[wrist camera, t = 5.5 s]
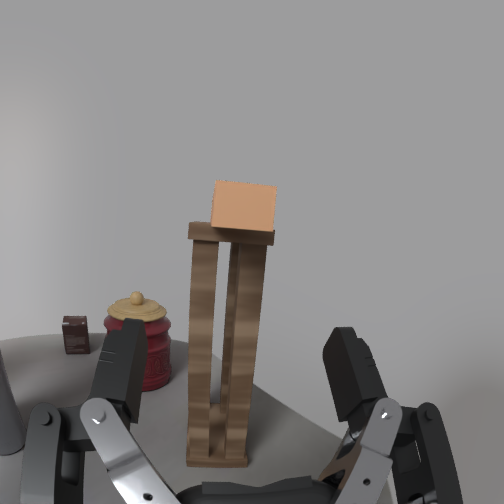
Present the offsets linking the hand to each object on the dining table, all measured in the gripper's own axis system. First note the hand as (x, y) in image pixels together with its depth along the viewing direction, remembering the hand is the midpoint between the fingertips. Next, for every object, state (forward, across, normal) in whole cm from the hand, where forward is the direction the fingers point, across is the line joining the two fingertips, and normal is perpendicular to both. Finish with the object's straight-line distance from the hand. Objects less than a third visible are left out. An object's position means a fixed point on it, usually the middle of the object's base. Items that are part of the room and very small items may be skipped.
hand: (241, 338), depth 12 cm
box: (+27, -32, -47) cm, 62 cm away
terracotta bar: (+17, 0, -5) cm, 18 cm away
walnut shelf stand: (+6, 0, -34) cm, 35 cm away
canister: (+21, -14, -43) cm, 50 cm away
